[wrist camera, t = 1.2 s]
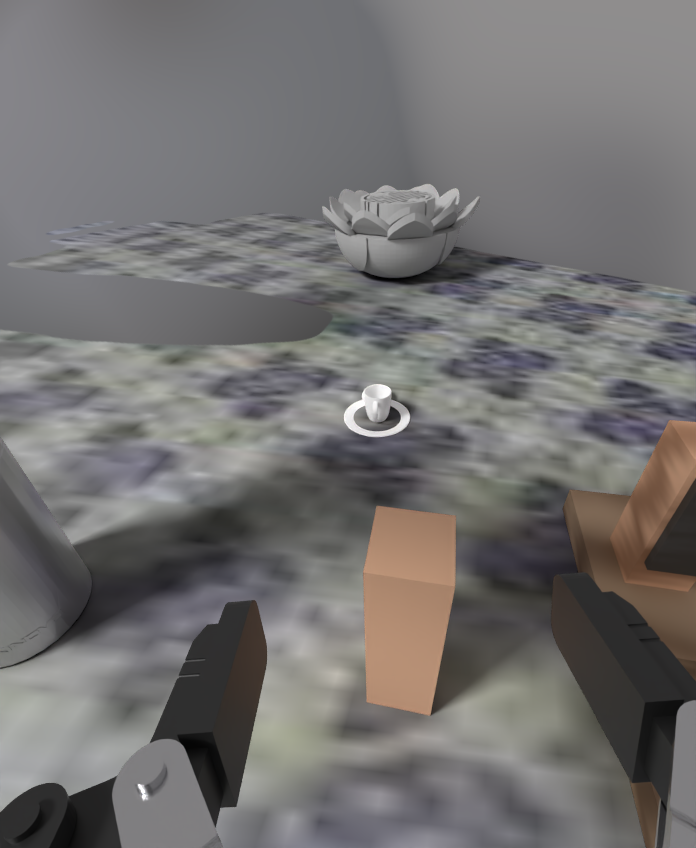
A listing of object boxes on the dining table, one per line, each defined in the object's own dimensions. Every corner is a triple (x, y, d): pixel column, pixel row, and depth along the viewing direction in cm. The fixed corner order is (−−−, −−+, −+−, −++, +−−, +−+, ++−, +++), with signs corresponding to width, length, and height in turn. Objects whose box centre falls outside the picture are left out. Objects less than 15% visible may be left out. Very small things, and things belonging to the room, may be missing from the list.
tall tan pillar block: (430, 715, 27) (455, 586, 19) (366, 702, 28) (363, 572, 19) (433, 642, 31) (455, 506, 22) (377, 632, 31) (378, 497, 23)
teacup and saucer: (366, 392, 58) (366, 365, 55) (422, 408, 54) (425, 380, 52) (331, 427, 52) (329, 399, 49) (392, 448, 48) (393, 418, 46)
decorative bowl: (391, 244, 113) (392, 178, 104) (490, 268, 94) (502, 191, 85) (296, 273, 97) (288, 198, 88) (393, 308, 79) (396, 219, 70)
